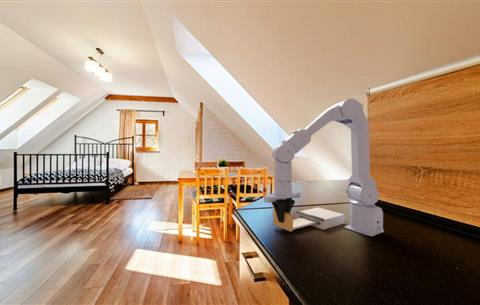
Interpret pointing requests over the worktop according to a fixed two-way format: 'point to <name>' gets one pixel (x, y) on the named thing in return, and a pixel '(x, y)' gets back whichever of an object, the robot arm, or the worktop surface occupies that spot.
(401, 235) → the worktop surface
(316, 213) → the dispenser
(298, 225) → the tan and white l-shape
